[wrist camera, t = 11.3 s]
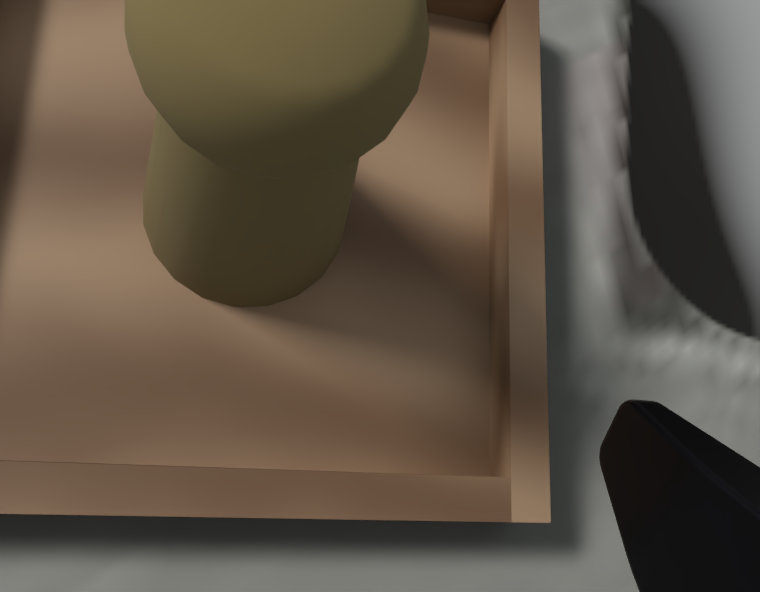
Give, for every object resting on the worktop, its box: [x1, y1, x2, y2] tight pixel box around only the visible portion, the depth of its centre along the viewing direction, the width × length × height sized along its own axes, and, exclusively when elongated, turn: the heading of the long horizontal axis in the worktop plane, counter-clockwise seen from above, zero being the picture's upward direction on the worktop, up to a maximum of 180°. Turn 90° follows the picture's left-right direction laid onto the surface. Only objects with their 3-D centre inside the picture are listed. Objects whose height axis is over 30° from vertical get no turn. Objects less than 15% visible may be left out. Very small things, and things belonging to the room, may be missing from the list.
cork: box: [124, 0, 430, 307], centre depth 16 cm, size 6×6×11 cm
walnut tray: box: [0, 0, 551, 523], centre depth 21 cm, size 18×18×2 cm
